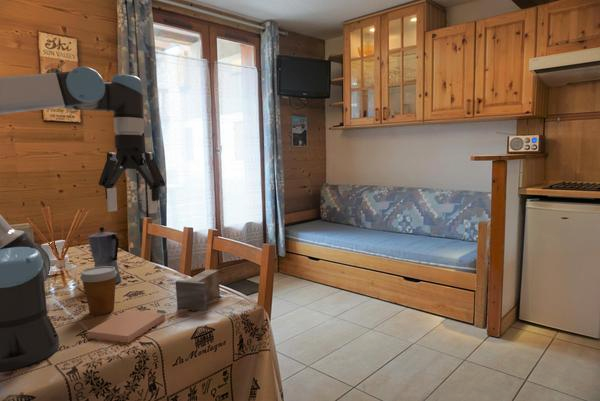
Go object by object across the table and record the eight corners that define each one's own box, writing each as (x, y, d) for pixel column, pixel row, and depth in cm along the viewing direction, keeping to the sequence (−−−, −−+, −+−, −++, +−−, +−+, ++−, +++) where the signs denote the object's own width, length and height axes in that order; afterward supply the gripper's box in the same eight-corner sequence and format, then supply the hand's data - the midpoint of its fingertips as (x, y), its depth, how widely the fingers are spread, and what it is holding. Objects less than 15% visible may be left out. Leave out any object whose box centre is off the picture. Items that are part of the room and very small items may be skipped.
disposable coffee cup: (127, 305, 119) (124, 266, 118) (105, 318, 110) (101, 275, 109) (99, 304, 121) (95, 265, 120) (75, 316, 112) (71, 274, 111)
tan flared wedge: (204, 311, 113) (203, 283, 112) (177, 308, 116) (175, 281, 115) (227, 295, 125) (225, 270, 125) (201, 293, 128) (200, 268, 127)
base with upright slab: (57, 268, 164) (54, 239, 162) (75, 269, 161) (72, 240, 160) (37, 275, 155) (34, 244, 154) (56, 276, 153) (53, 245, 151)
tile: (165, 321, 108) (128, 344, 95) (127, 317, 111) (87, 339, 98) (164, 313, 108) (128, 336, 94) (127, 309, 111) (87, 331, 98)
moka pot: (106, 276, 150) (102, 223, 147) (135, 281, 142) (131, 226, 140) (82, 284, 141) (77, 228, 139) (111, 290, 134) (106, 231, 132)
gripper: (177, 134, 109) (179, 212, 111) (103, 136, 117) (106, 208, 119) (159, 132, 102) (161, 215, 104) (82, 134, 110) (85, 211, 111)
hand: (132, 212), depth 111 cm, fingers open, 13 cm apart
